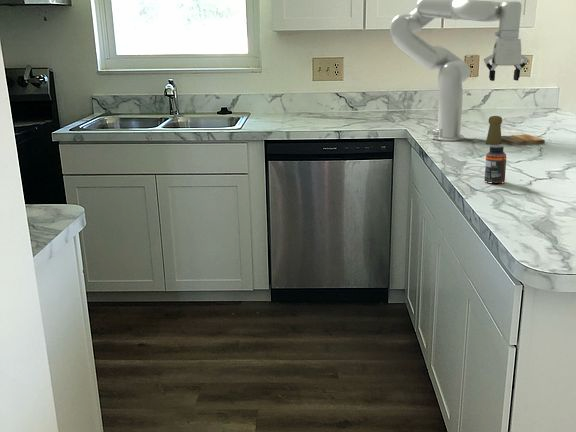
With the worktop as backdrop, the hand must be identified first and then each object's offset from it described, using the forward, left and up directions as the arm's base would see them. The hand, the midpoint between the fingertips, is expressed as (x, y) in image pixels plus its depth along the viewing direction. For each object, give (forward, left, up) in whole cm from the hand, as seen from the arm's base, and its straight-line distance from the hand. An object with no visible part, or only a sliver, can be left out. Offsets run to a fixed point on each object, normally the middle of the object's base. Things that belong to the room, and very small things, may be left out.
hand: (503, 80), depth 246 cm
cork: (-3, -2, -25) cm, 25 cm away
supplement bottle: (-30, -62, -25) cm, 73 cm away
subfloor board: (+8, -1, -25) cm, 26 cm away
